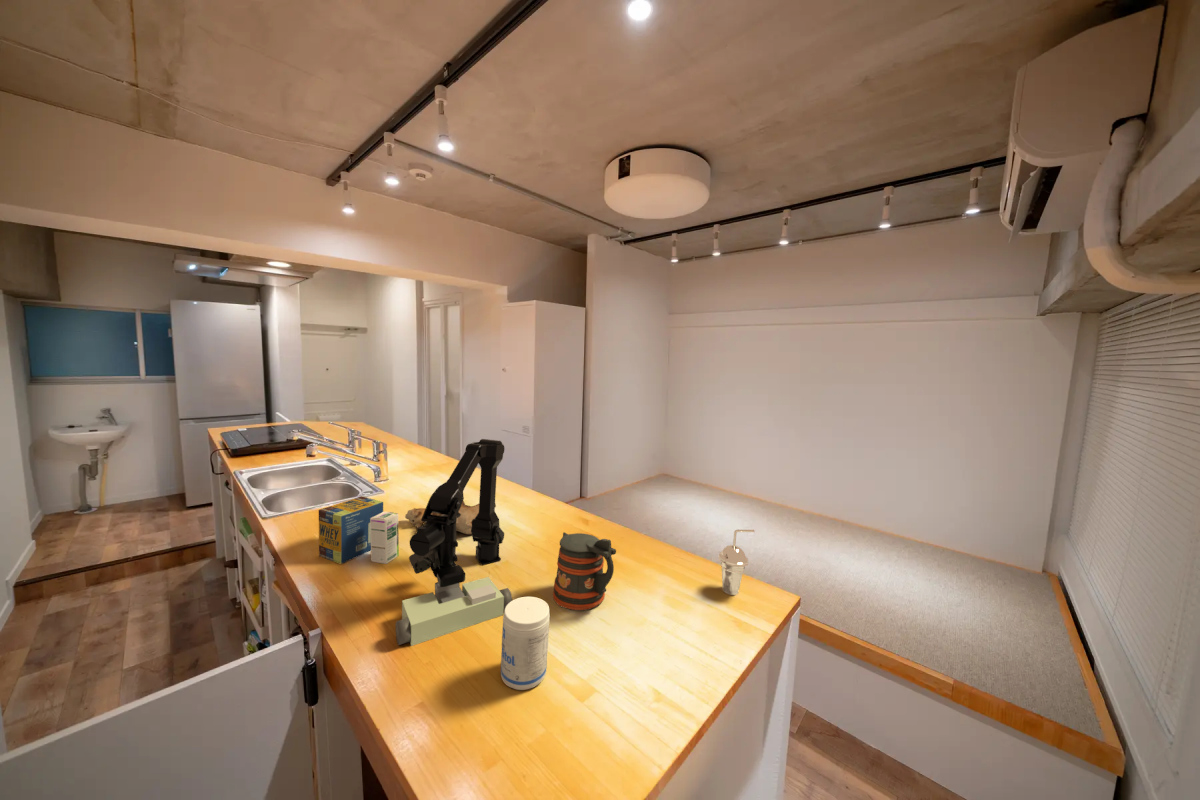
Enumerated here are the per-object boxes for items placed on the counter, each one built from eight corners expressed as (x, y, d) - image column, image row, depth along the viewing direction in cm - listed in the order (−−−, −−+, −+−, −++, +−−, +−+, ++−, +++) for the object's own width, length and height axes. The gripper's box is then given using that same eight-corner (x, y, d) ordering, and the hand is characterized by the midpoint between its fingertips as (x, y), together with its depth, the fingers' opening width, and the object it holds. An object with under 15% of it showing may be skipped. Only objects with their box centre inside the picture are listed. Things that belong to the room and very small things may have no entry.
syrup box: (386, 564, 127) (386, 519, 125) (370, 561, 128) (369, 517, 126) (399, 556, 132) (399, 512, 131) (383, 553, 133) (383, 510, 132)
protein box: (318, 557, 129) (317, 509, 127) (362, 538, 143) (362, 495, 142) (340, 564, 125) (340, 516, 124) (384, 544, 139) (384, 500, 138)
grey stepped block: (455, 599, 111) (456, 577, 110) (464, 614, 104) (465, 591, 104) (434, 605, 108) (435, 582, 107) (442, 621, 101) (442, 598, 100)
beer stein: (627, 601, 114) (632, 532, 112) (595, 626, 102) (600, 550, 100) (576, 576, 125) (579, 514, 123) (542, 597, 114) (545, 528, 112)
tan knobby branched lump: (454, 476, 173) (396, 497, 153) (503, 500, 155) (444, 527, 135) (455, 503, 176) (398, 528, 156) (503, 530, 158) (445, 561, 138)
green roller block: (496, 591, 115) (496, 569, 115) (512, 611, 106) (512, 588, 106) (391, 622, 100) (391, 597, 99) (399, 649, 91) (399, 622, 90)
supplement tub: (491, 674, 85) (493, 608, 84) (526, 651, 93) (529, 590, 91) (520, 701, 79) (523, 630, 78) (556, 674, 86) (559, 608, 85)
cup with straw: (724, 580, 128) (729, 518, 126) (752, 592, 122) (758, 528, 120) (710, 589, 122) (715, 525, 120) (738, 603, 116) (744, 535, 114)
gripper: (405, 529, 112) (404, 582, 114) (419, 561, 97) (418, 621, 99) (447, 522, 118) (445, 572, 120) (466, 550, 103) (464, 607, 105)
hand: (443, 591), depth 111 cm, fingers closed
